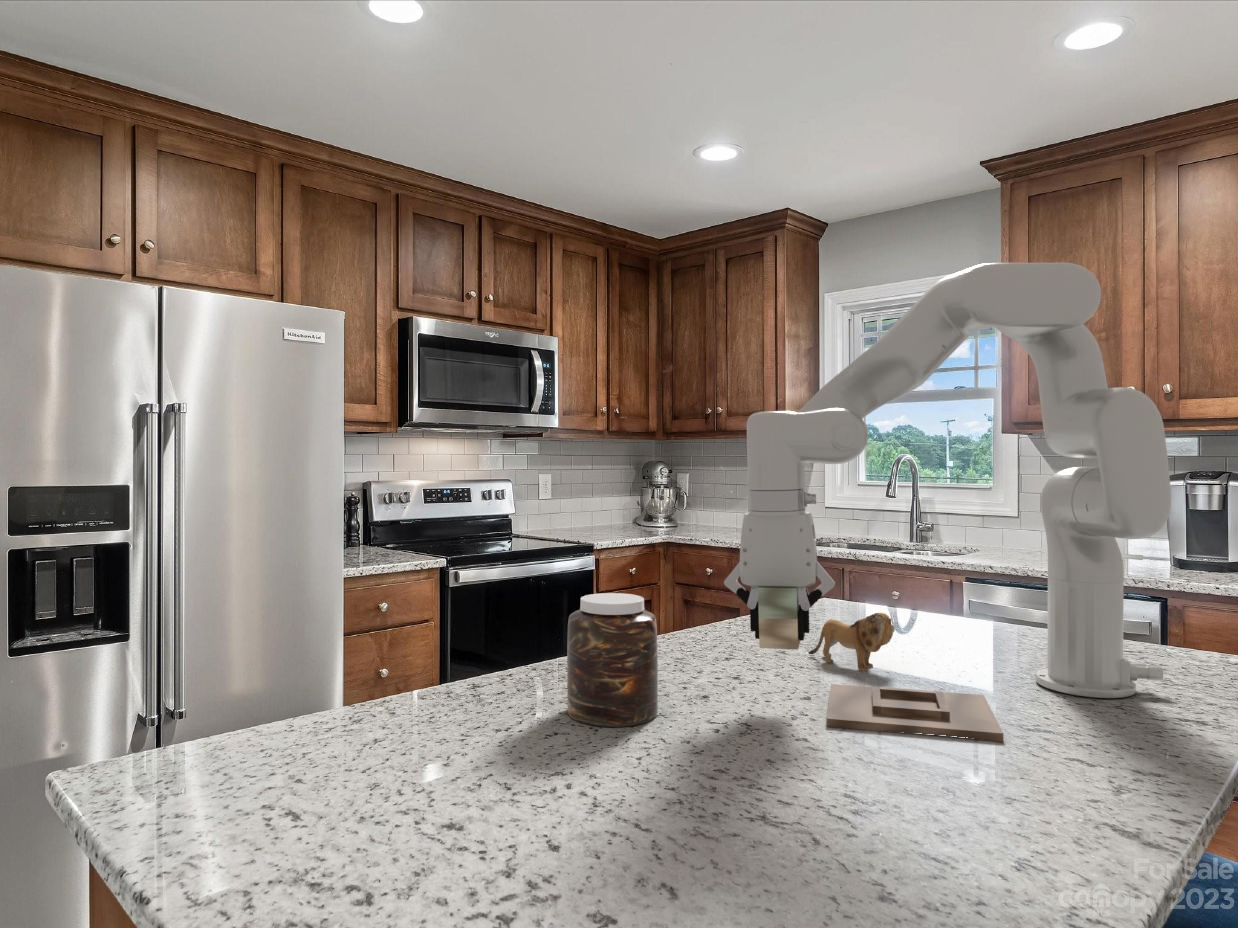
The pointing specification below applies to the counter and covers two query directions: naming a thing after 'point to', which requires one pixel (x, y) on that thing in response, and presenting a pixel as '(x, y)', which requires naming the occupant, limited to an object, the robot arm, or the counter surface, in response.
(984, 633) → the counter surface
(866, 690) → the walnut socket board
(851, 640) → the lion figurine
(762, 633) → the two-tone block
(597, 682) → the jar
